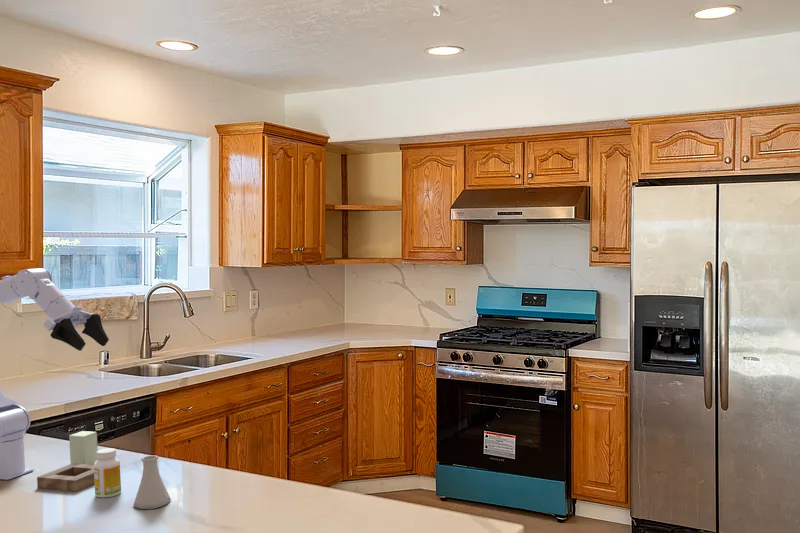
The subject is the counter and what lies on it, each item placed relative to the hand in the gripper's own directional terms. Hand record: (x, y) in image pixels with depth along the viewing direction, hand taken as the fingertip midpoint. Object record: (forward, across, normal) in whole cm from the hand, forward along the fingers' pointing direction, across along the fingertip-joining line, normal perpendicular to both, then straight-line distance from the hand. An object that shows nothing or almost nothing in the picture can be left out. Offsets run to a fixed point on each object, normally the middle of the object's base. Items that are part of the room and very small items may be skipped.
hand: (94, 345), depth 175 cm
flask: (+37, -9, +10) cm, 40 cm away
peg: (+10, +11, +34) cm, 37 cm away
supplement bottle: (+27, -6, +19) cm, 34 cm away
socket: (+16, -1, +28) cm, 33 cm away
